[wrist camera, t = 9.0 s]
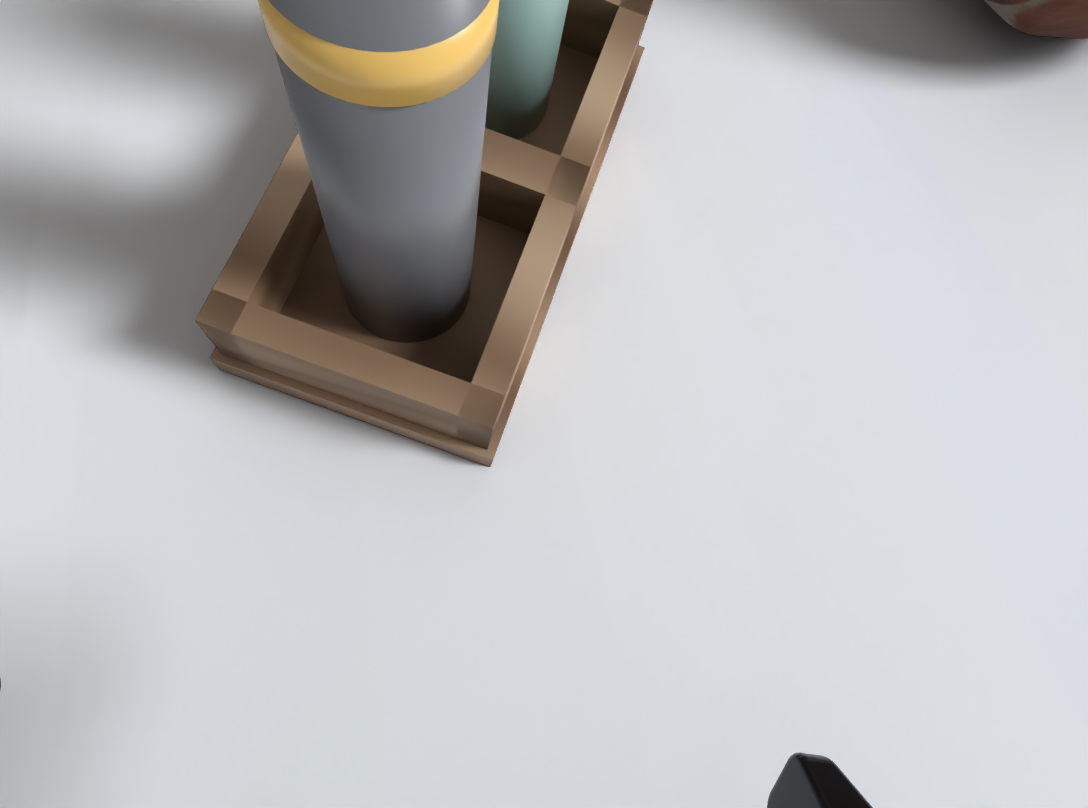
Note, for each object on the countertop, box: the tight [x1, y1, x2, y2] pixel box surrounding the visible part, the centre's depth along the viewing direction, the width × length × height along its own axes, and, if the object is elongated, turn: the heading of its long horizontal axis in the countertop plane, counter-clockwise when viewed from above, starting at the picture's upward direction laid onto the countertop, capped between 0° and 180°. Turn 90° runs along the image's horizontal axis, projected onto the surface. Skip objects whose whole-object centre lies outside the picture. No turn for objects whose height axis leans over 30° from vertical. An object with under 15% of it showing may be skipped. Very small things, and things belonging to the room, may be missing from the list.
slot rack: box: [195, 0, 653, 467], centre depth 24 cm, size 17×9×4 cm, turn 161°
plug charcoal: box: [258, 0, 499, 343], centre depth 17 cm, size 4×4×13 cm
